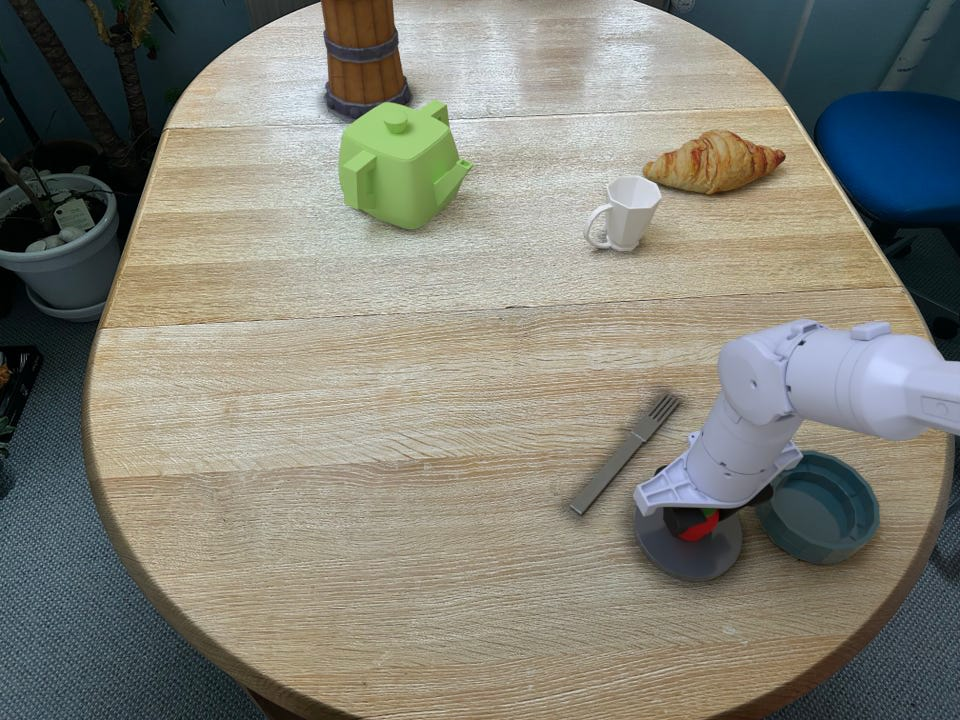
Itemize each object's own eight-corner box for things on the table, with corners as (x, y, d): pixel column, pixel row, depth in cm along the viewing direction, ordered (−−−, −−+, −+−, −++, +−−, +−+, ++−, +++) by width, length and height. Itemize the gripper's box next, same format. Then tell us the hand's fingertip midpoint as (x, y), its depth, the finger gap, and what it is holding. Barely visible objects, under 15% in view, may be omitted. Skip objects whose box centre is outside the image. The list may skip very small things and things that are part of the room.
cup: (659, 248, 89) (674, 199, 82) (595, 272, 86) (606, 222, 79) (628, 217, 92) (640, 168, 86) (566, 239, 89) (574, 189, 83)
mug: (297, 78, 114) (270, -53, 98) (373, 55, 119) (359, -72, 103) (348, 133, 104) (328, -2, 88) (429, 106, 109) (423, -26, 93)
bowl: (875, 512, 65) (896, 493, 62) (834, 588, 61) (854, 572, 58) (780, 453, 69) (795, 432, 66) (734, 520, 65) (747, 501, 62)
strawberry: (717, 523, 63) (734, 499, 59) (696, 554, 61) (711, 531, 58) (680, 497, 65) (694, 473, 61) (658, 527, 63) (671, 503, 59)
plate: (757, 525, 64) (761, 521, 64) (705, 604, 60) (709, 601, 59) (667, 464, 68) (670, 459, 68) (612, 534, 64) (614, 529, 63)
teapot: (509, 192, 95) (514, 108, 85) (423, 273, 85) (418, 188, 75) (406, 148, 102) (400, 64, 91) (315, 218, 91) (296, 133, 81)
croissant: (641, 213, 98) (660, 189, 91) (629, 149, 100) (646, 121, 92) (778, 197, 100) (807, 172, 93) (763, 135, 102) (791, 106, 94)
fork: (582, 517, 65) (583, 515, 64) (567, 506, 65) (568, 503, 65) (679, 402, 73) (680, 400, 73) (665, 394, 74) (666, 391, 74)
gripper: (788, 378, 55) (736, 461, 66) (630, 424, 52) (602, 504, 63) (843, 448, 51) (778, 525, 62) (675, 503, 48) (637, 574, 59)
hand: (692, 519), depth 62 cm, fingers closed on strawberry, 4 cm apart
